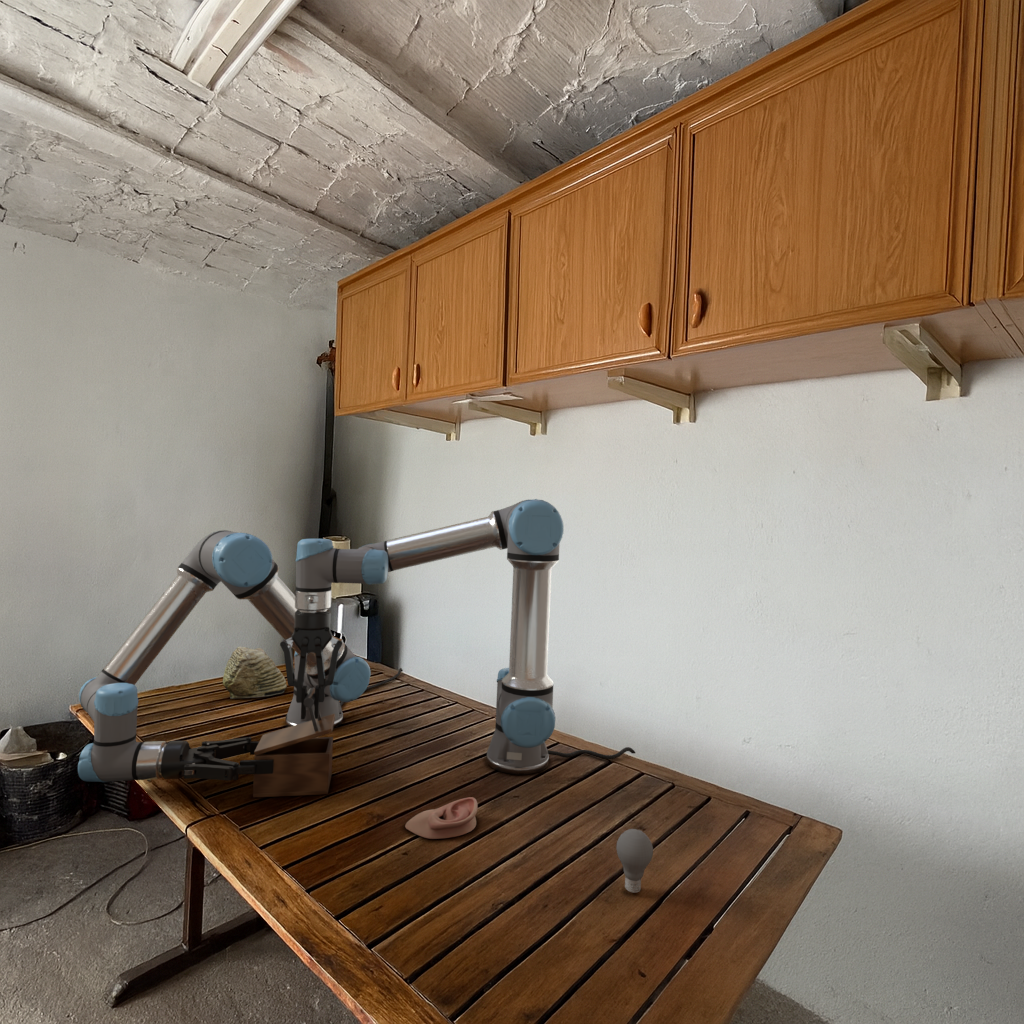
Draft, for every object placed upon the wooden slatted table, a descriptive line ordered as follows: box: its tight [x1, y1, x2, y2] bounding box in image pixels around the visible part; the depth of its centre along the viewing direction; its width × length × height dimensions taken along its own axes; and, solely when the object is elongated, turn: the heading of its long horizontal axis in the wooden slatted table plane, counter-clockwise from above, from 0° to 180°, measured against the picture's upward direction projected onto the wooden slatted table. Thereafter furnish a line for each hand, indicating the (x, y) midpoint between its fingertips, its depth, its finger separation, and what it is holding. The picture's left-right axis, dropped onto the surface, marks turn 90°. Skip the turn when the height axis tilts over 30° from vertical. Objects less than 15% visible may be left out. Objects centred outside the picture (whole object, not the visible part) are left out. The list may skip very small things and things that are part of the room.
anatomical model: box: [404, 796, 479, 840], centre depth 124 cm, size 13×4×12 cm
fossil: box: [222, 646, 288, 699], centre depth 198 cm, size 9×18×15 cm, turn 132°
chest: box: [252, 736, 334, 799], centre depth 138 cm, size 15×10×9 cm, turn 101°
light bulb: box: [615, 828, 654, 894], centre depth 106 cm, size 6×6×10 cm
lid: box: [254, 688, 335, 756], centre depth 138 cm, size 16×10×8 cm, turn 101°
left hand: (277, 756), depth 137 cm, fingers closed on chest, 10 cm apart
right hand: (310, 716), depth 139 cm, fingers closed on lid, 2 cm apart
